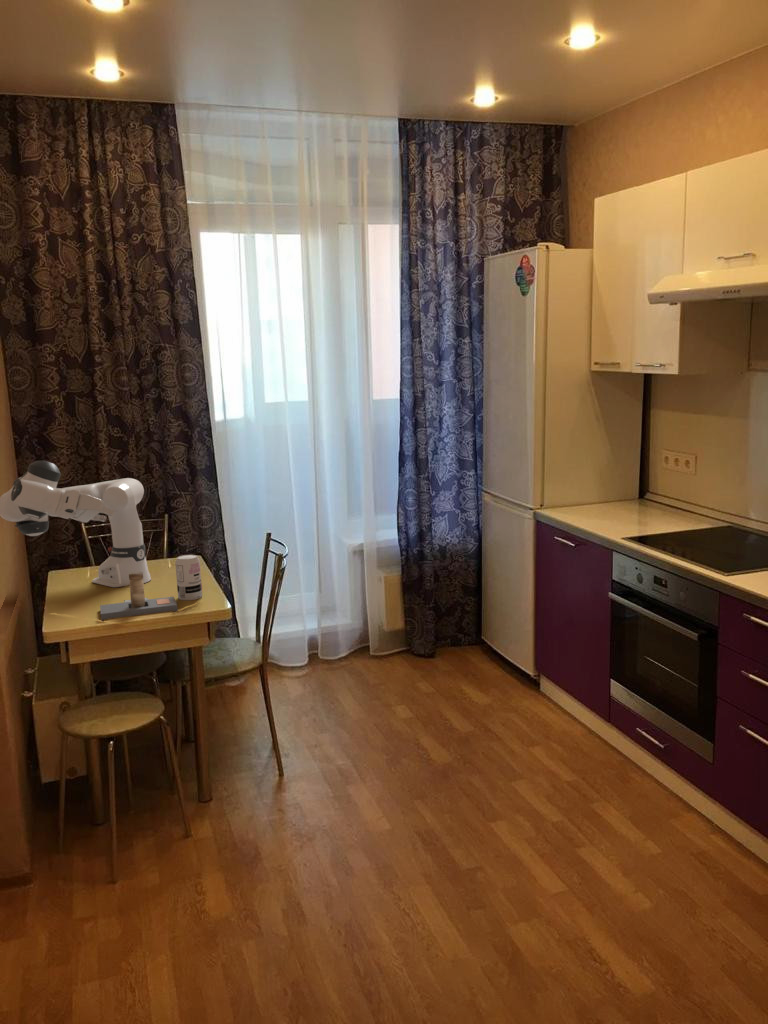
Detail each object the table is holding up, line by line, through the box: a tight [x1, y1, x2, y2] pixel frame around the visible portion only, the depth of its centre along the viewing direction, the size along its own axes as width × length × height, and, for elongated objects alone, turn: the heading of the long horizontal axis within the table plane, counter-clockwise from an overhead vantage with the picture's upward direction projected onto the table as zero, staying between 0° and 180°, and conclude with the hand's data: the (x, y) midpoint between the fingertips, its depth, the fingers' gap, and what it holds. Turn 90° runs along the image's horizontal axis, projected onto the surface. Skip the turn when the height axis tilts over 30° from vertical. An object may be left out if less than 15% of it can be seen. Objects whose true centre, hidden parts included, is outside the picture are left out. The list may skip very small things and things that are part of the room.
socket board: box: [99, 596, 179, 622], centre depth 280 cm, size 24×11×3 cm, turn 110°
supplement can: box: [174, 554, 203, 601], centre depth 293 cm, size 8×8×15 cm
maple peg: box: [129, 572, 146, 608], centre depth 279 cm, size 4×4×13 cm
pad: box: [123, 597, 149, 602], centre depth 290 cm, size 8×8×1 cm
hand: (109, 516), depth 275 cm, fingers open, 8 cm apart
